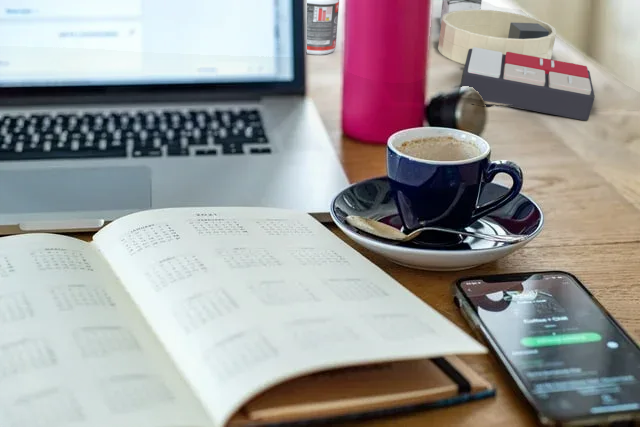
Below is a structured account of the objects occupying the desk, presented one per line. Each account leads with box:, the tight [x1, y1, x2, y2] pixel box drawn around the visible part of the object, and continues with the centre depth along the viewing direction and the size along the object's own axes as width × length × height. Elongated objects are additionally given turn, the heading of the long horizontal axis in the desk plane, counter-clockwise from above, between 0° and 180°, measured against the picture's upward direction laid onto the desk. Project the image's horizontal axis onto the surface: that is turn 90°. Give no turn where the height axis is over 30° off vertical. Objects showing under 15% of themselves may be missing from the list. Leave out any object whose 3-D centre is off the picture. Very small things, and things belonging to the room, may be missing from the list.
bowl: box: [437, 9, 557, 66], centre depth 119 cm, size 15×15×5 cm
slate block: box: [508, 22, 549, 39], centre depth 119 cm, size 4×4×4 cm
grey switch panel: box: [459, 47, 595, 122], centre depth 105 cm, size 11×4×15 cm
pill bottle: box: [306, 0, 340, 56], centre depth 116 cm, size 6×6×10 cm
